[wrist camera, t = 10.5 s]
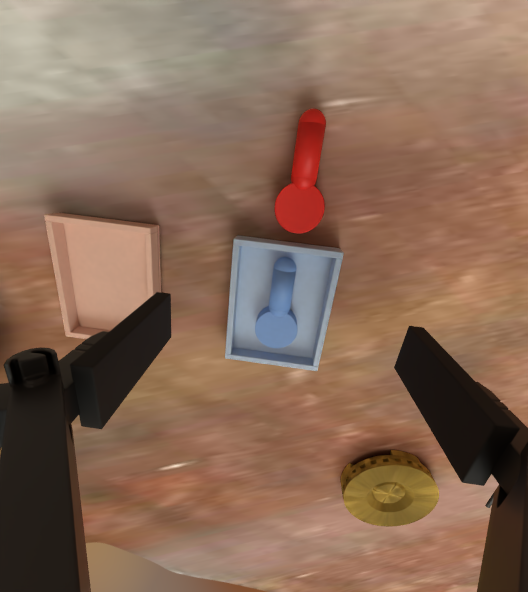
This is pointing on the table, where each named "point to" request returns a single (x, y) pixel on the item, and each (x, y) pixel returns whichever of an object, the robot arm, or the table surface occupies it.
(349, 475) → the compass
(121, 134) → the table surface
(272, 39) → the table surface
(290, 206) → the red spoon
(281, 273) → the blue spoon
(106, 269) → the rose tray
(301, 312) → the blue tray
